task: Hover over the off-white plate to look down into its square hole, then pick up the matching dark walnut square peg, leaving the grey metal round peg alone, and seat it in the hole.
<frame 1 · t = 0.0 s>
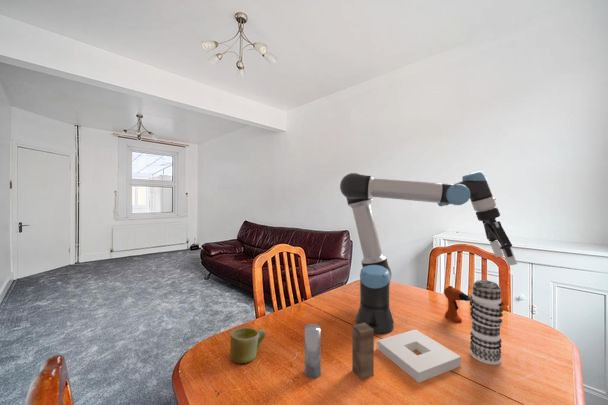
hand: (505, 260, 102), 28 cm above the table, fingers open, 13 cm apart
toy drill: (460, 324, 108), on the table
round peg: (312, 373, 78), on the table
mug: (248, 355, 88), on the table
square peg: (362, 372, 78), on the table
socket plate: (416, 356, 86), on the table
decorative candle: (485, 356, 86), on the table
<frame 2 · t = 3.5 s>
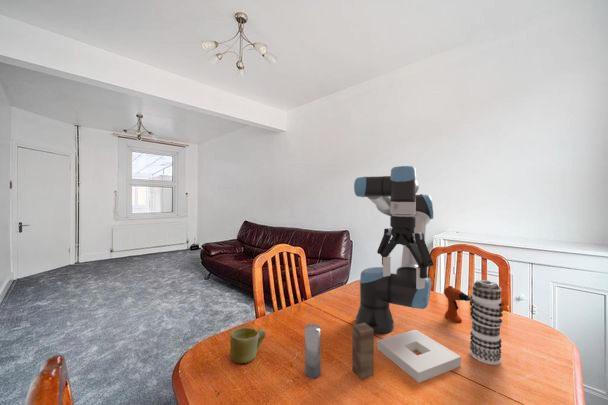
hand: (402, 281, 82), 26 cm above the table, fingers open, 13 cm apart
nothing on the table moved.
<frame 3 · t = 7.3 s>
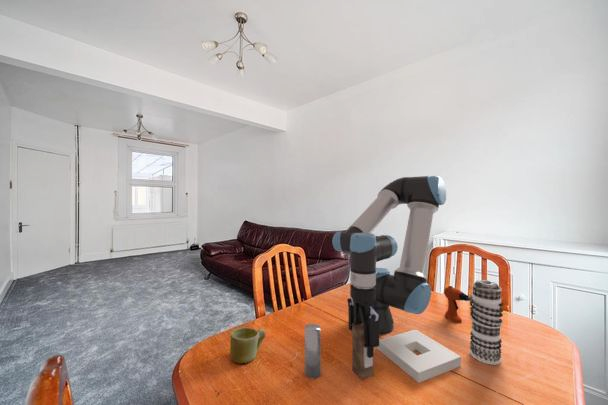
hand: (362, 360, 78), 4 cm above the table, fingers closed on square peg, 4 cm apart
square peg: (362, 372, 78), on the table, touching gripper
everything else where it was.
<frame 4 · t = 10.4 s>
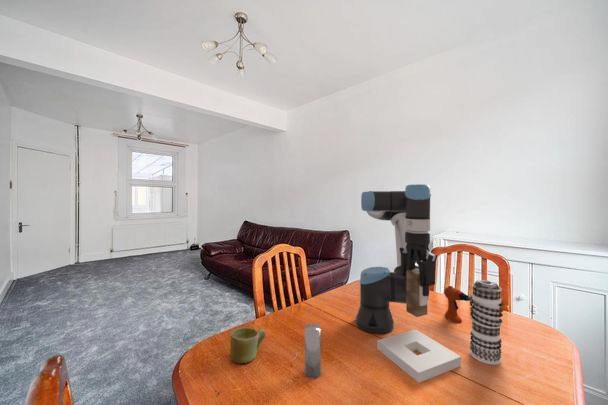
hand: (416, 301, 85), 19 cm above the table, fingers closed on square peg, 4 cm apart
square peg: (416, 312, 85), point 15 cm above the table, touching gripper
everything else where it was.
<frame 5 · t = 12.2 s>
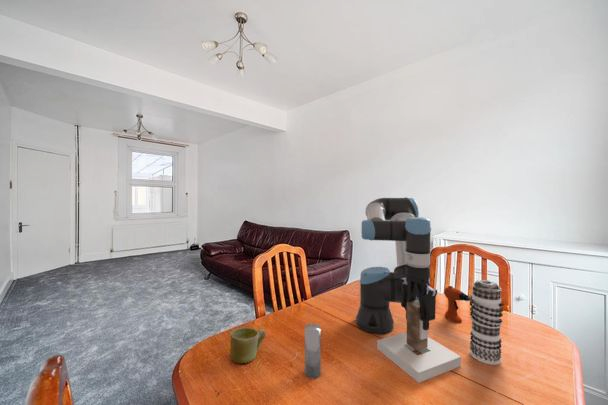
hand: (417, 334, 86), 8 cm above the table, fingers closed on square peg, 4 cm apart
square peg: (416, 345, 86), point 4 cm above the table, touching gripper
everything else where it was.
when the fingers open (5 cm above the table, at t = 13.7 s): square peg stays where it is, resting in socket plate.
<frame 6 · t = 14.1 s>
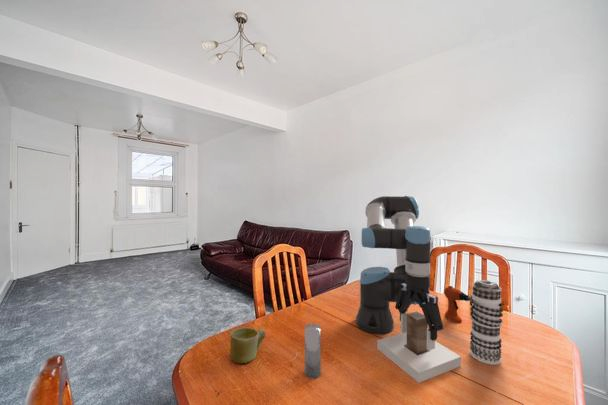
hand: (416, 339, 86), 6 cm above the table, fingers open, 10 cm apart
square peg: (416, 356, 86), resting in socket plate
everything else where it was.
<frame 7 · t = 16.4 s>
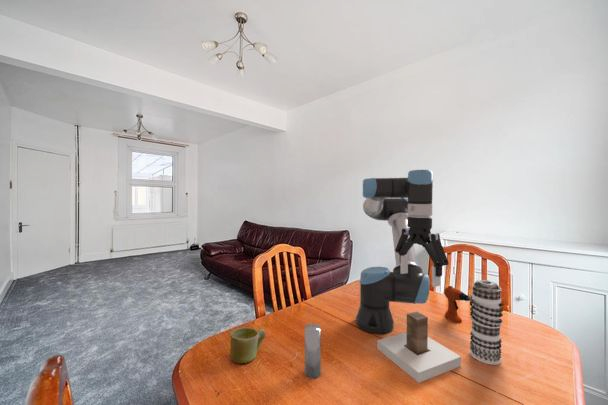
hand: (418, 279, 87), 25 cm above the table, fingers open, 13 cm apart
nothing on the table moved.
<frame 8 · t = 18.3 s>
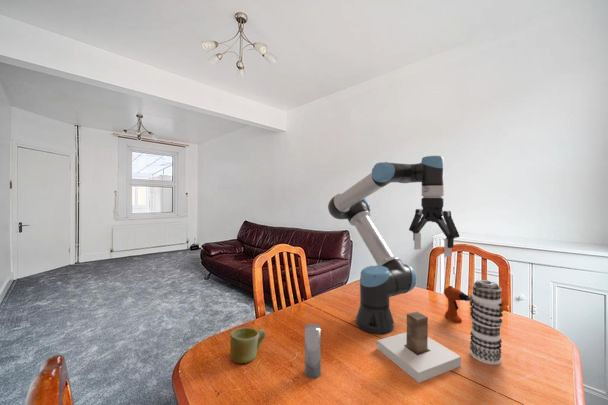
hand: (431, 252, 99), 32 cm above the table, fingers open, 13 cm apart
nothing on the table moved.
at the end: square peg 0.0 cm off-centre on the socket plate, point 0.0 cm above the socket plate's base; square peg tilted 0°; round peg moved 0.0 cm from its start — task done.
